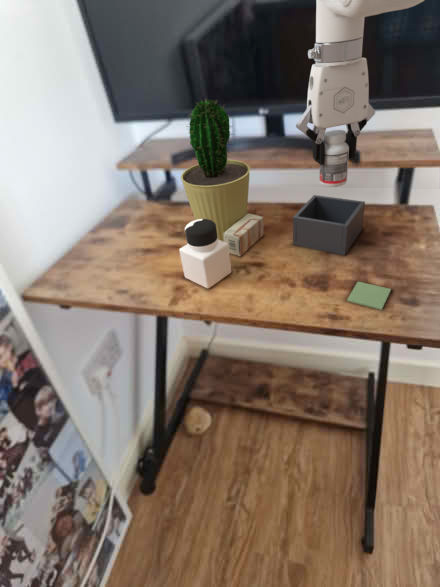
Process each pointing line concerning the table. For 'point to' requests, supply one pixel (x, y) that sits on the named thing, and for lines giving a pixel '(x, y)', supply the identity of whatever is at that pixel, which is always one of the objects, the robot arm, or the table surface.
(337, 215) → the tub
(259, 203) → the table surface
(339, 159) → the pill bottle
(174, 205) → the table surface
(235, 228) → the small printed carton
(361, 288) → the mat
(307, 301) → the table surface
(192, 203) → the potted cactus
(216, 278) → the medicine bottle
